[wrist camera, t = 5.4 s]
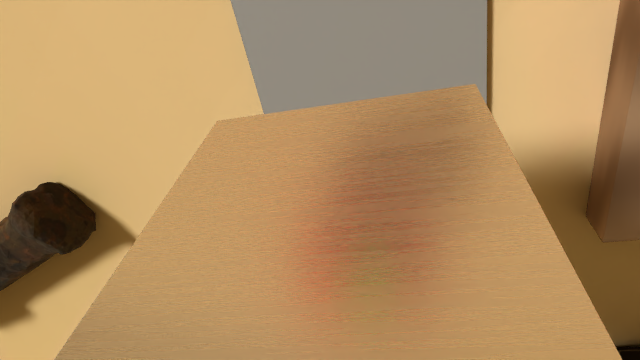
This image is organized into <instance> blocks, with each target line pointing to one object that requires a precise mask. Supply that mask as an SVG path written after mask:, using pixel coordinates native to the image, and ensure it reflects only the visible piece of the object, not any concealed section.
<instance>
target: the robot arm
mask: <svg viewBox="0 0 640 360" xmlns="http://www.w3.org/2000/svg"><path fill="white" fill-rule="evenodd" d="M616 349H617V351H618V353H619V354H620V356H621V358H622V360H640V347H616Z"/></svg>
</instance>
